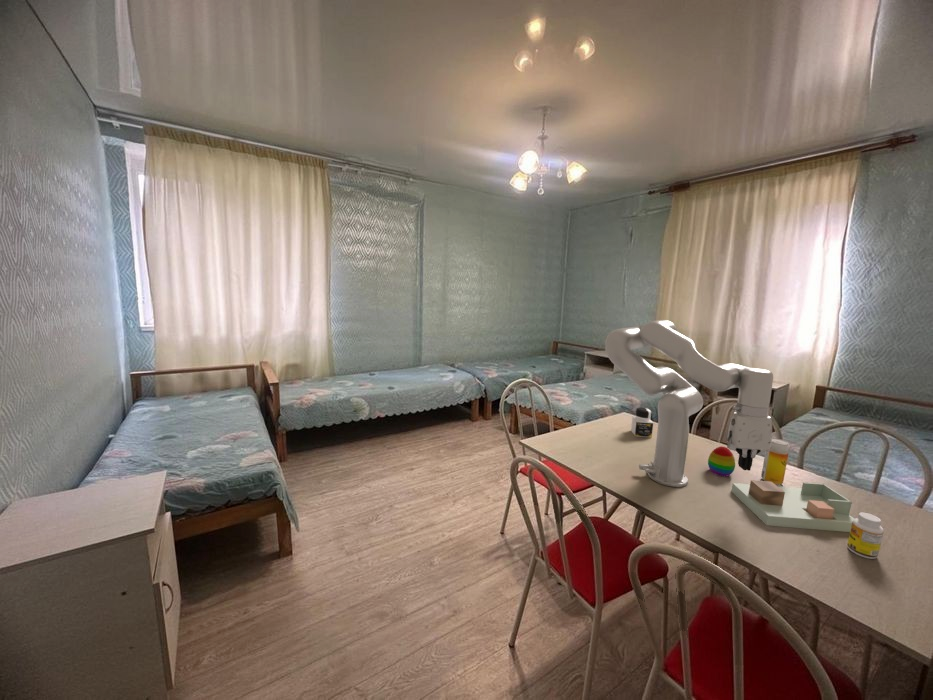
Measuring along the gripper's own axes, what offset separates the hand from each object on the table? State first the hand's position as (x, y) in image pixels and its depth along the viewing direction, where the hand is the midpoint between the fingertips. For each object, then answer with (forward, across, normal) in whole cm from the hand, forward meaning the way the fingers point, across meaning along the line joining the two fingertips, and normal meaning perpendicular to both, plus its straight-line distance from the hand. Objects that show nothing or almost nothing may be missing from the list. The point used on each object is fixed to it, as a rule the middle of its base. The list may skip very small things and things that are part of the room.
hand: (744, 468), depth 116 cm
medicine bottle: (+12, -11, +56) cm, 58 cm away
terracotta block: (+13, +18, -5) cm, 23 cm away
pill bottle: (+13, +21, +19) cm, 31 cm away
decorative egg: (+13, +6, +23) cm, 27 cm away
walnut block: (+10, +7, +1) cm, 13 cm away
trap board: (+13, +15, +1) cm, 20 cm away
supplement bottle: (+14, +20, -17) cm, 30 cm away
